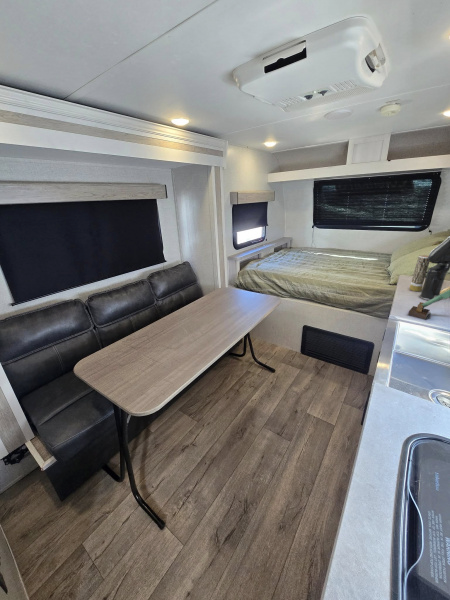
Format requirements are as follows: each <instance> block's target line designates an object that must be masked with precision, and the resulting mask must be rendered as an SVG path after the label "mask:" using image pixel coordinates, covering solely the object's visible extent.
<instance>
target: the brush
mask: <svg viewBox="0 0 450 600" xmlns="http://www.w3.org/2000/svg"><path fill="white" fill-rule="evenodd" d="M448 298H450V285H449V286H447V287H445V288H444V289H441V291H440V294H439V296H437V297H435V298H433V299H431V300H426V301H425V302H422V303H423V304H421V305H424V306H423V308H424V309H425V308H426V307H429V306H431V305H432V304H434V303H437V302H439V301H441V300H443V299H444V300H446V299H448Z"/></svg>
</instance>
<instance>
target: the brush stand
mask: <svg viewBox="0 0 450 600" xmlns="http://www.w3.org/2000/svg"><path fill="white" fill-rule="evenodd" d="M423 303H424V302H422V301H421V302H419V304H417V306H414V305H413V306H412V307H411V308H409V311H408V314H407V316H410V317H414V318H417V319H420V320H427V317H428V315H430V312H431V311H430V310H431V309H429V308H425V307H424V308H423V306H424V305H421V304H423Z"/></svg>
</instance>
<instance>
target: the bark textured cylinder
mask: <svg viewBox="0 0 450 600" xmlns="http://www.w3.org/2000/svg"><path fill="white" fill-rule="evenodd" d="M428 256H429V255H427V254H426V255H425V254H420V255H418V257H417V260H416V264H415V267H414V271H413V275H412V278H411V281H410V285H409V291H413V292H422V289H423V285H424V282H425V279H426V278H425V276H426V275H427V273H426V272H428V269H429V265H430V262H429V260H428Z"/></svg>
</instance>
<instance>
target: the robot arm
mask: <svg viewBox="0 0 450 600" xmlns="http://www.w3.org/2000/svg"><path fill="white" fill-rule="evenodd" d="M427 256H428V260H429V263H431V264H435V265H434V266H431V267H428V269H427V272H426V276H425V279H424V282H423V285H422V289H421V291H420V295H419V298H420V299H422V300H425V301H429V300H431V299H433V298H435V297H437V296H439V295H440V291H441V290H442V288H443V285H444V282H445V279H446V276H447V273H448V272H449V271H450V235H448V237H447V238H445V239H444V240H443V241H442V242H441V243H439V245H437V246H436V247H434V248H433V249H432V250H431V251H430V252H429V254H428V255H427Z"/></svg>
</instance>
